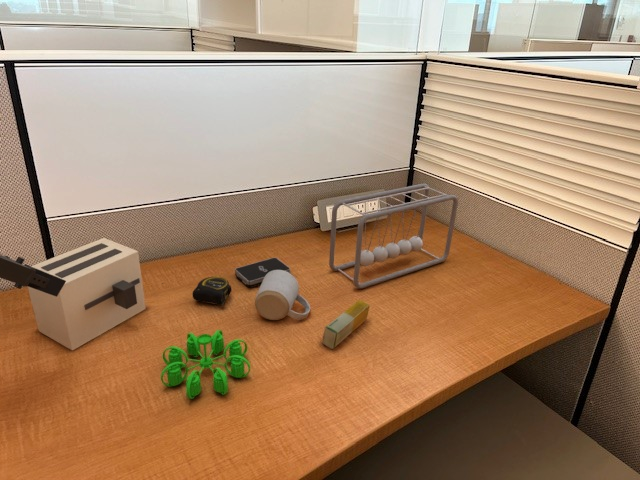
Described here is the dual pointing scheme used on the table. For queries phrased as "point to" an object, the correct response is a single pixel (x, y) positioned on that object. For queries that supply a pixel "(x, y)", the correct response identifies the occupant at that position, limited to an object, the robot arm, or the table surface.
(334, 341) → the medication box
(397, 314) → the table surface
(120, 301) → the slider button
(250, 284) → the external hard drive
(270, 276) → the ceramic mug
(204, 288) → the tape measure
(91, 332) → the toaster
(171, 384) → the chandelier
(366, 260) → the newton's cradle
